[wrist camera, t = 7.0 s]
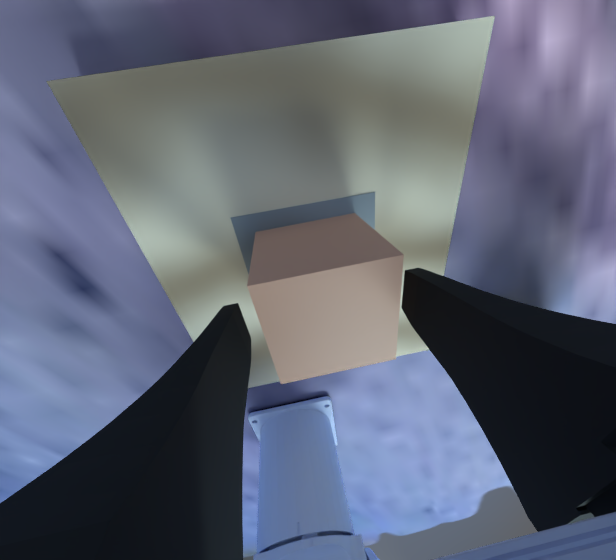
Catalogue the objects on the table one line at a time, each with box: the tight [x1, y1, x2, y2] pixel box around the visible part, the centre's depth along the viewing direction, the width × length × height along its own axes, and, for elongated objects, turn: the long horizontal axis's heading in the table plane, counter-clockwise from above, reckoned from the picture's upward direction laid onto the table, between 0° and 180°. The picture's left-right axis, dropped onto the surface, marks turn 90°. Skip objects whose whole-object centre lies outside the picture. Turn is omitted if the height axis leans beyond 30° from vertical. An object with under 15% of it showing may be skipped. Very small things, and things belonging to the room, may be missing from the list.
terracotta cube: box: [247, 213, 404, 384], centre depth 11 cm, size 5×5×5 cm
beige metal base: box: [46, 16, 495, 388], centre depth 14 cm, size 18×16×2 cm
